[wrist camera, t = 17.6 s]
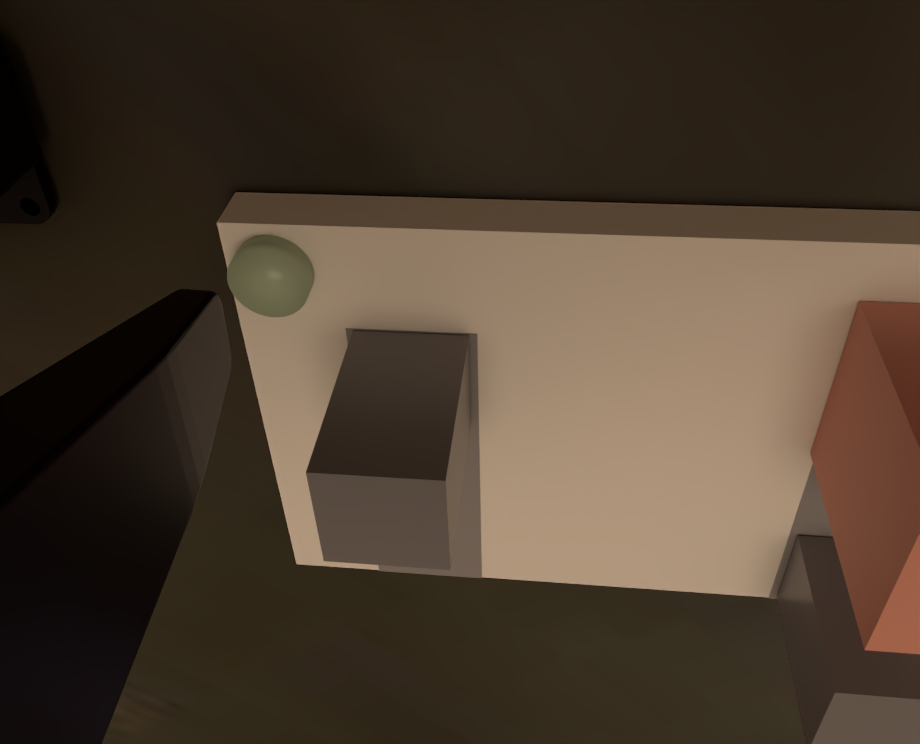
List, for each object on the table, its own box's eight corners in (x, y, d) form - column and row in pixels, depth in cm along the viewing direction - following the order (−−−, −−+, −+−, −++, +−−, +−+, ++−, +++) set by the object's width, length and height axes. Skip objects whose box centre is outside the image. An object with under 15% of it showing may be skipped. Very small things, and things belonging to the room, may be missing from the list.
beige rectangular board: (307, 529, 30) (292, 578, 29) (235, 191, 22) (208, 235, 21) (975, 573, 28) (999, 629, 27) (1175, 218, 20) (1227, 269, 18)
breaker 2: (776, 597, 28) (808, 751, 24) (797, 535, 26) (835, 692, 22) (876, 604, 27) (923, 761, 24) (904, 542, 25) (961, 702, 22)
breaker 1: (364, 416, 24) (323, 561, 21) (352, 330, 23) (305, 472, 19) (471, 422, 24) (450, 570, 20) (469, 335, 22) (445, 481, 18)
